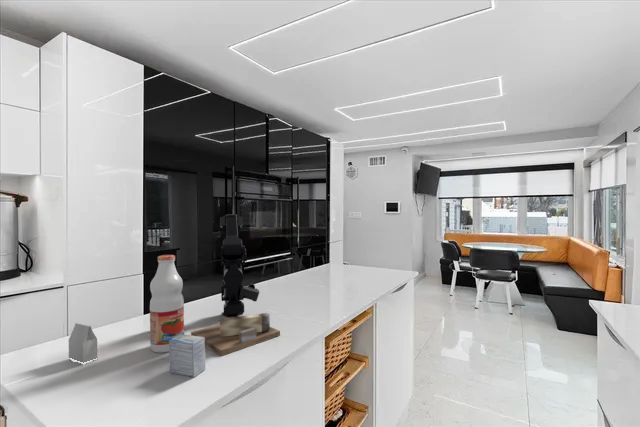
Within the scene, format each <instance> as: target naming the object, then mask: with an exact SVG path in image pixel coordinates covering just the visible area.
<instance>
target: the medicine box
mask: <svg viewBox="0 0 640 427" xmlns="http://www.w3.org/2000/svg"><path fill="white" fill-rule="evenodd" d="M168 354H169V373H170V374H176V375H180V376H187V377H192V378H196V377H197V376H198V375H200V374H201V373H202V372H204V371H205V370H206V346H205V338H204V337H199V336H192V335H191V334H185V333H184V334H181V335H178V336H176V337H174V338H172V339H171V340H169V352H168Z"/></svg>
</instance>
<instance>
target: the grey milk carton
mask: <svg viewBox="0 0 640 427" xmlns="http://www.w3.org/2000/svg"><path fill="white" fill-rule="evenodd" d="M69 358H72V359H74V360H77V361H80V362H83V363H84V362H87V361H90V360H93V359H96V358H97V359H98V338H97V336H96V335H95V332H94V331H93V329H92V327H91V325H86V324H83V323H78V322H75V324H74V327H73V330H72V332H71V334H70V336H69V338H68V359H69Z"/></svg>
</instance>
